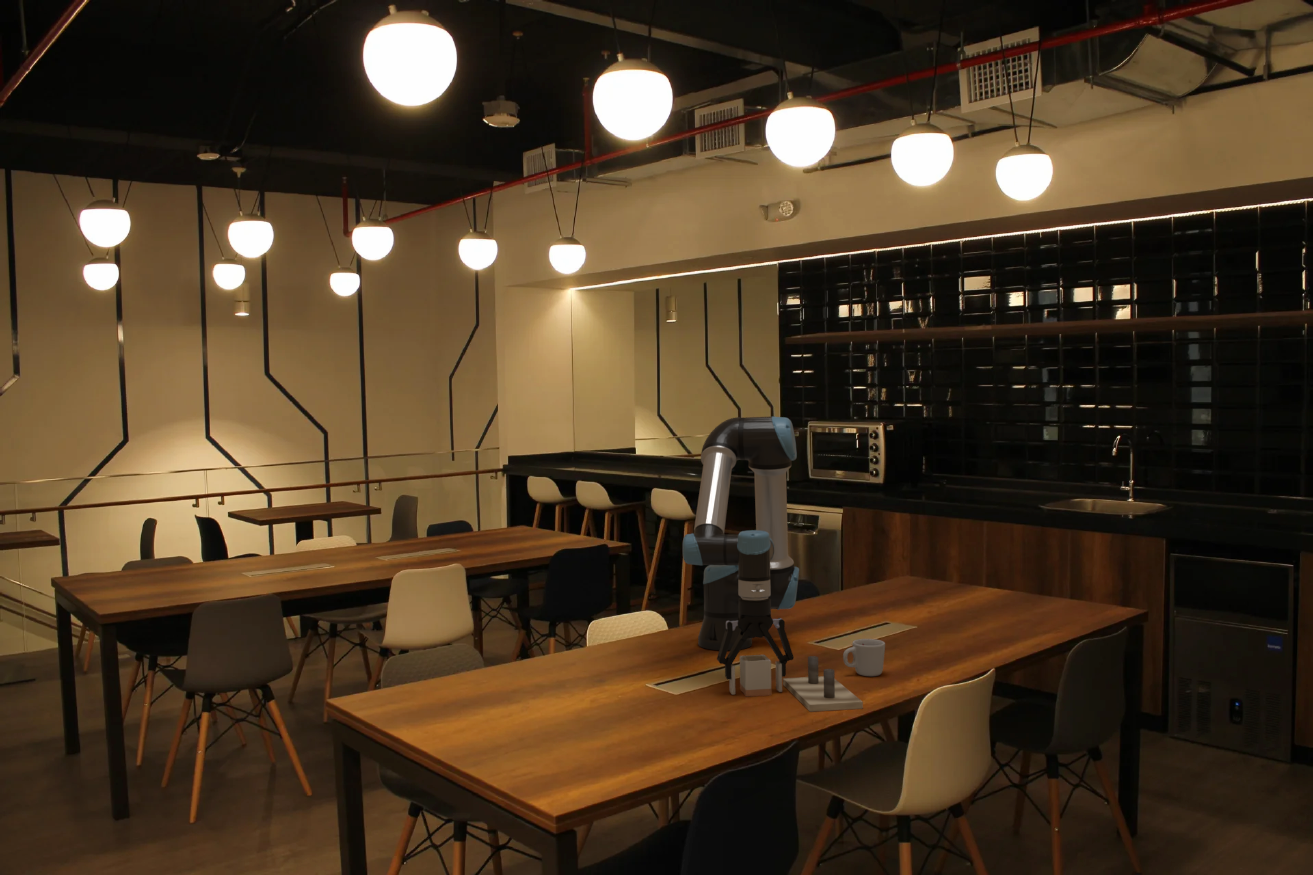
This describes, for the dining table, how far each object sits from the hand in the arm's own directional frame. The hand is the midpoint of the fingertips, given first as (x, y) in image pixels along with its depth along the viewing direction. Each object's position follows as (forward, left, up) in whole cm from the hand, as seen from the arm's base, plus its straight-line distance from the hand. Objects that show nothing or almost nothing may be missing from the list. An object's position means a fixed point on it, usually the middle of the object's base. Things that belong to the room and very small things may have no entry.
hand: (755, 691), depth 234 cm
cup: (-10, +30, 0) cm, 32 cm away
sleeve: (0, 0, 0) cm, 0 cm away
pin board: (+6, +14, 0) cm, 15 cm away
